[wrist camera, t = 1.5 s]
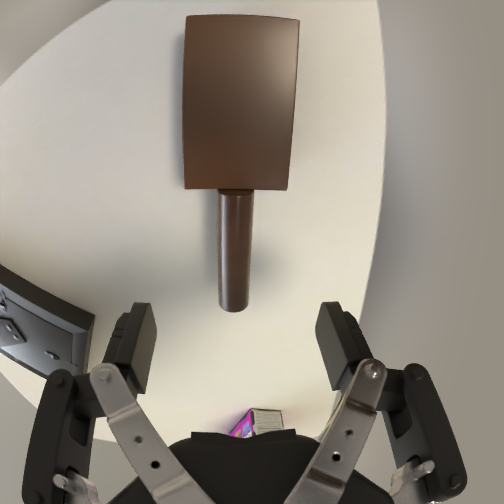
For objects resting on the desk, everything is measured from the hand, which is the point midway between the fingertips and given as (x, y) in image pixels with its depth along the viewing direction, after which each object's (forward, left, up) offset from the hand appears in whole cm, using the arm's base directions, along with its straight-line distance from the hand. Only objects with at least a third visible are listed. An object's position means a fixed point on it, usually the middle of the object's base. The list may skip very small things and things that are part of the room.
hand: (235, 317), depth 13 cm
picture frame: (+11, -26, -8) cm, 29 cm away
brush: (-5, 0, -8) cm, 10 cm away
